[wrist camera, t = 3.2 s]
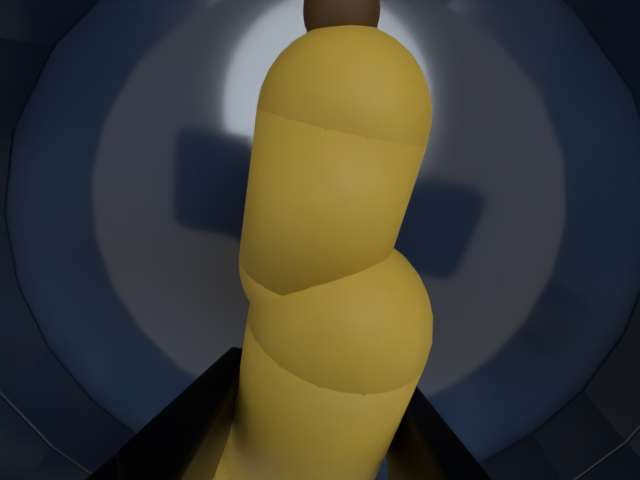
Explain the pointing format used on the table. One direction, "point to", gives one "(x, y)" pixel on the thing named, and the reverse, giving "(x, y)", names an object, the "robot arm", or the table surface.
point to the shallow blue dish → (229, 204)
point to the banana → (330, 254)
